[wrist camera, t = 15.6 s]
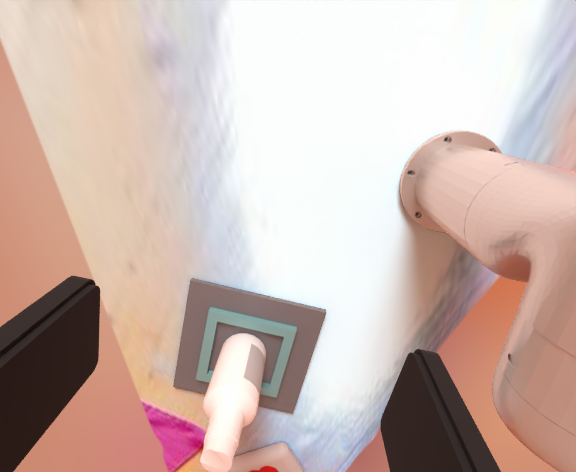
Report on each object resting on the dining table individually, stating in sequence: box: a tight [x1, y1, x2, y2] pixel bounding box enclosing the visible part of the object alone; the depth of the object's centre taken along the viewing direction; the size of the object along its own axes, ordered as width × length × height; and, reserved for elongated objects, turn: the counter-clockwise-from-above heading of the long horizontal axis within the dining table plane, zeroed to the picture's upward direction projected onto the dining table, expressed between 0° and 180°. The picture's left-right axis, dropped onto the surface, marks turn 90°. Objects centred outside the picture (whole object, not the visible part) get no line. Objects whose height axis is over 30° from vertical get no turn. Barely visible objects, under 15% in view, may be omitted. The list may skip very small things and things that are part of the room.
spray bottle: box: [200, 333, 266, 472], centre depth 45 cm, size 7×7×18 cm
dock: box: [173, 278, 326, 413], centre depth 54 cm, size 20×20×2 cm
